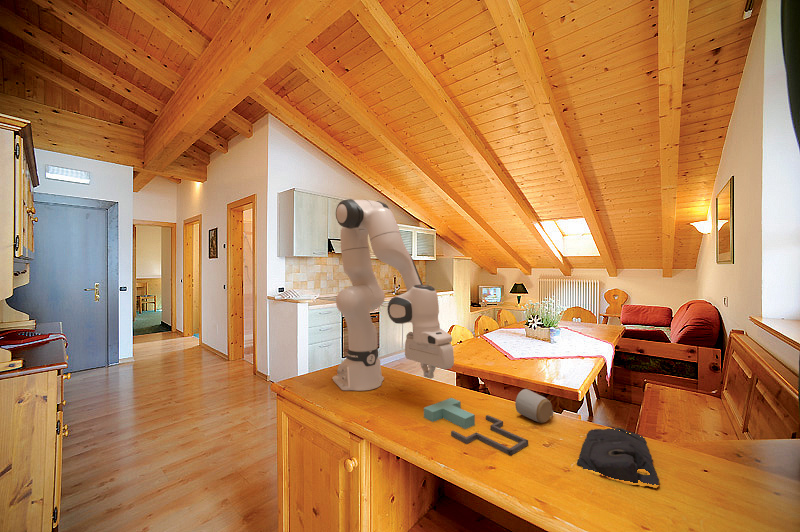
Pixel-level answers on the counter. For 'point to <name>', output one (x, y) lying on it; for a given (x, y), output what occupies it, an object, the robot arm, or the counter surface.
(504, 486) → the counter surface
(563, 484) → the counter surface
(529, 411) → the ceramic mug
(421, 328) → the robot arm
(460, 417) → the teal T block
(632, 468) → the dark slate chunk
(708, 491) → the counter surface
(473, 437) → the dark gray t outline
